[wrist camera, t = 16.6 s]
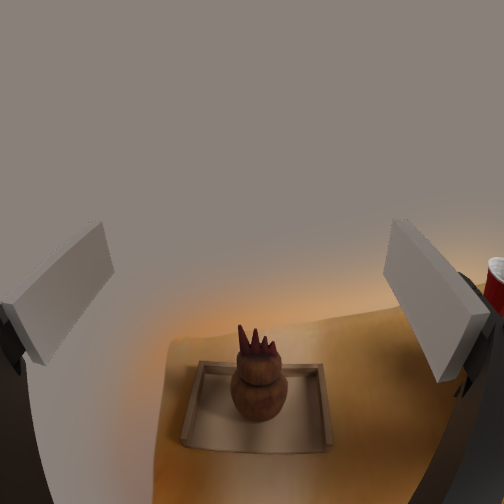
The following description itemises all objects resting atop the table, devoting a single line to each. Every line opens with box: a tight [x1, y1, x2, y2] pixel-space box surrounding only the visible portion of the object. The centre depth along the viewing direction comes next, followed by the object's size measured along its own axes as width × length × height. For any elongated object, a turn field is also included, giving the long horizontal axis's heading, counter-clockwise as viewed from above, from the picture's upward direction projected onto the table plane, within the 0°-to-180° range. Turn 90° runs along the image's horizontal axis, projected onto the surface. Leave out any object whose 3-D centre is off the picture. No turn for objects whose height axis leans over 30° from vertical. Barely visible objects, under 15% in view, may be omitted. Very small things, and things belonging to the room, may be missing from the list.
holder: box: [180, 361, 333, 454], centre depth 35 cm, size 18×13×2 cm
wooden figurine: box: [230, 325, 288, 422], centre depth 32 cm, size 7×6×15 cm
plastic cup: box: [483, 257, 504, 317], centre depth 44 cm, size 11×11×12 cm
